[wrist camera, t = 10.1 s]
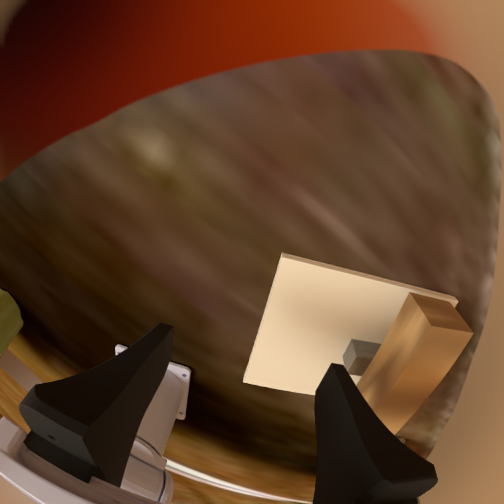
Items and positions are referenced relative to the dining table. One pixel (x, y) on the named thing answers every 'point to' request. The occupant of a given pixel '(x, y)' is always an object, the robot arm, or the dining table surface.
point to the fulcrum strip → (359, 356)
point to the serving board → (321, 321)
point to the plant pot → (8, 320)
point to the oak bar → (413, 358)
